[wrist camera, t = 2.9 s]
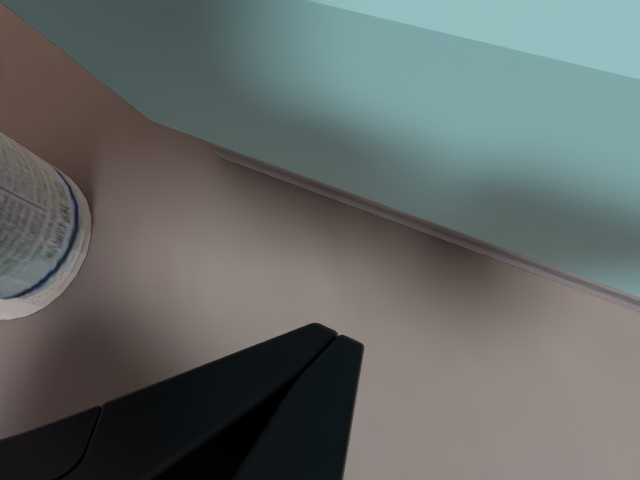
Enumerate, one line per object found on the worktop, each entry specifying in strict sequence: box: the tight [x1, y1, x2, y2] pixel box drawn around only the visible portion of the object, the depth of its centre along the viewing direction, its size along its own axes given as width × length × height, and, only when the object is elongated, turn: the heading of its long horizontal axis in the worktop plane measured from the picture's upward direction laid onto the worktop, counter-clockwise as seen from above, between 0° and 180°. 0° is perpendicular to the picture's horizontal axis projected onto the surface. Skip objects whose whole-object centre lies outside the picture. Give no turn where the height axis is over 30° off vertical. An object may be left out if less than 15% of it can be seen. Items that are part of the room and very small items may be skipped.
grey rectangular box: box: [205, 141, 640, 312], centre depth 16 cm, size 8×18×4 cm, turn 65°
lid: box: [0, 0, 640, 297], centre depth 9 cm, size 8×18×1 cm
